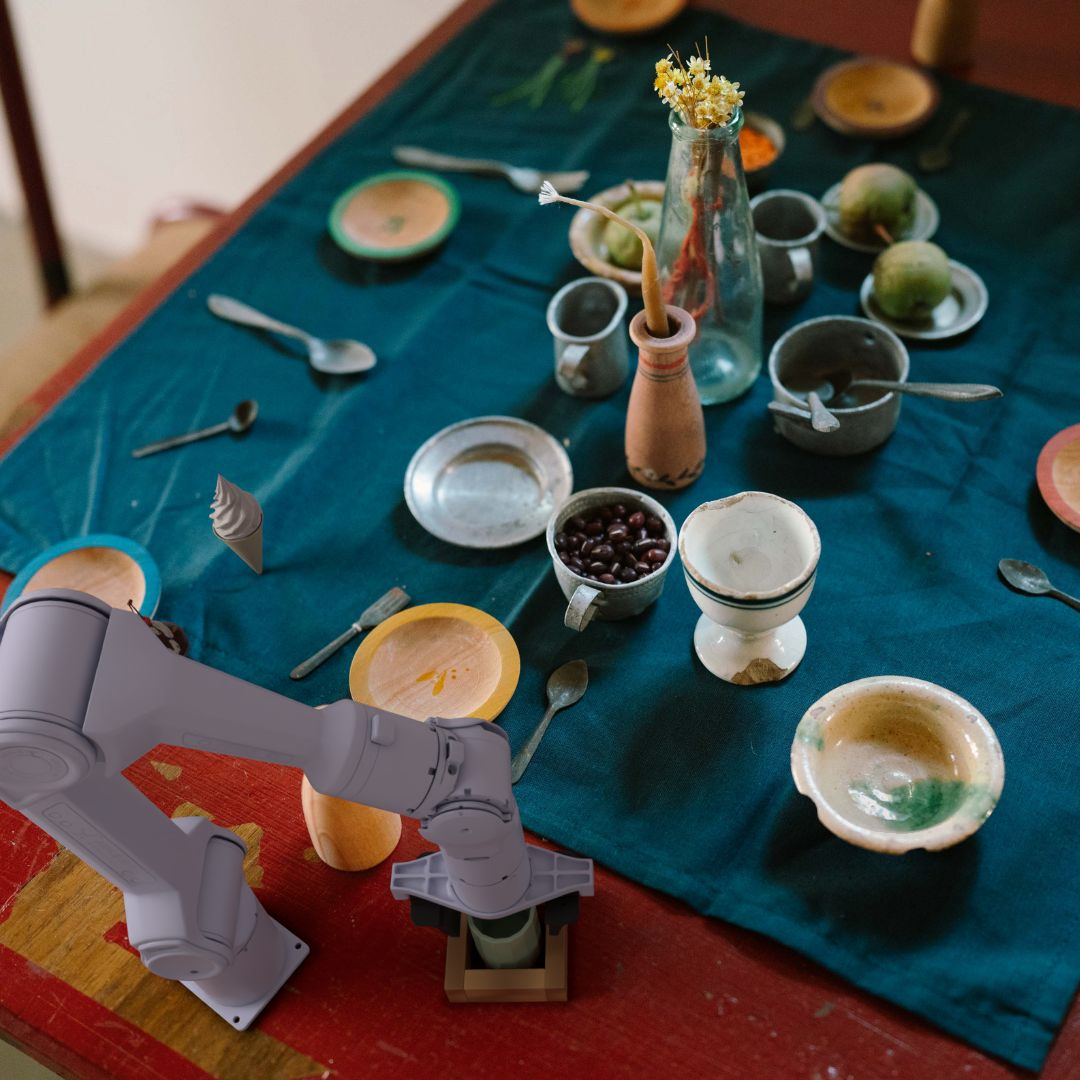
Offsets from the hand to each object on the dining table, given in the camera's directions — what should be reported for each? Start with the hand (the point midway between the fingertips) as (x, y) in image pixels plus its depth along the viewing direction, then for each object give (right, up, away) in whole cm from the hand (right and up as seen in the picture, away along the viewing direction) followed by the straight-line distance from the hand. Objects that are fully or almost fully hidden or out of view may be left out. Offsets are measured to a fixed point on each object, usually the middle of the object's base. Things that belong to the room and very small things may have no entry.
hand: (505, 923), depth 90 cm
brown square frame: (0, -3, +3) cm, 4 cm away
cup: (0, -3, +3) cm, 4 cm away
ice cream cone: (-26, +26, +30) cm, 48 cm away
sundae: (-31, +13, +20) cm, 39 cm away
